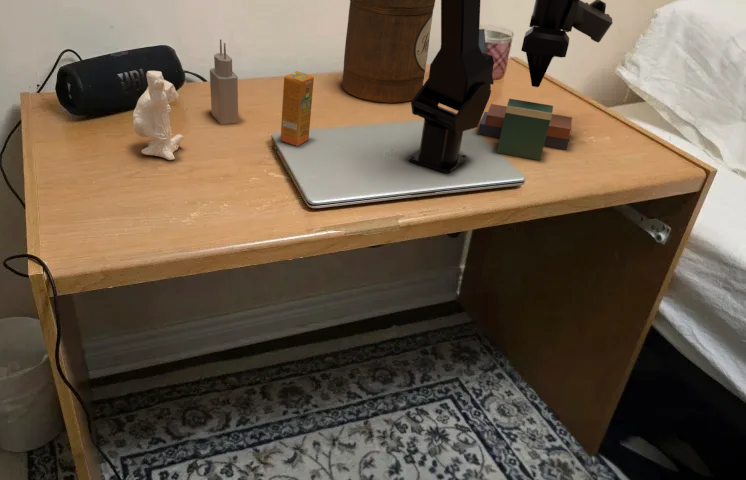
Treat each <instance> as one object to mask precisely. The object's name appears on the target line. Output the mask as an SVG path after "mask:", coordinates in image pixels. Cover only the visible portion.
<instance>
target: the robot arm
mask: <svg viewBox="0 0 746 480" xmlns="http://www.w3.org/2000/svg"><path fill="white" fill-rule="evenodd" d="M606 9H607V3H606V2H605V1H602V0H594V1H592V2H590V3H589V2H587V1H586V2H585V1H582V0H535V1H534V5H533V10H532V14H531V17H530V21H529V28H530V29H528V30H526V31H525V34H524V36H523V39H522V40H523V41H522V45H521V50H520V51H521V52H523V53H525V55H526V61H527V65H528V71H529V77H530V83H531V86H532V87H534V88H539V87H540V86H541V84H542V82H543V79H544V77H545V75H546V73H547V70H548V68H549V67H550V64H551V62H552V61H553V58H555V57H556V58H566V56H567V52H568V49H569V45H570V37H569V35H568V34H567V33H571V32H572V29H573V28H574V29H575V30H577V31H578V32H580V33H582V34H583V35H586V36H587V37H589V38H590V40H591V41H594V42H595V43H600V42H601V41H602V39H603V38H604V36H605V35H606V33H607V32H608V30H609V29H610V28H611V26H612V25H613V18H612V16H610V14H609V13H606ZM480 21H481V0H440V48H439V50H438V52H437V53H436V55H435V56H434V58H433V59H432V61H431V63H430V64H429V72H428V73H429V74H428V78H427V79H426V81H425V82H424V83H423V86H422V88H421V89H420V90H419V92H418V93H417V95H416V96H415V97H414V99H413V100H411V103H410V107H411V113H412V114H411V115H413V116H418V117H420V118H422V119H423V126H422V132H421V139H420V146H419V150H418V151H417V152H415V153H413V154H412V155H411V156H409V162H411V163H415V164H418V165H421V166H424V167H427V168H429V169H434V170H437V171H440V172H443V173H446V174H449V173H452V172H453V171H454V170H455V169H457V168H458V167H459V166H460V165H461V164H462V163H464V162H465V161H466V160H467V155H465V154H462V153H460V150H461V146H462V139H463V134H464V132H465V131H470V130H473V129H475V128H478V127H479V125H480V122H481V120H482V117H483V115H484V112H485V110H486V107H487V105H488V102H489V100H490V96H491V89H492V88H491V85H494V84H495V82H494V79H493V73H494V66H495V60H494V56H493V55H491V54H489V53H486V52H482V50H481V48H480V25H481V24H480ZM439 104H440V105H442V106H445V107H447V108H450V109H452V110H454V111H457V113H456V112H454V111H451V110H449V109H446V108H444V107H442V106H440V105H439Z"/></svg>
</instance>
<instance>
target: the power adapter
mask: <svg viewBox="0 0 746 480" xmlns="http://www.w3.org/2000/svg"><path fill="white" fill-rule="evenodd" d="M222 41H223V40H222V39H221V38H220V39H219V52H217V53H215V54H213V61H214V62H213V63H214V67H212V68H209V86H210V87H209V88H210V108H211V109H210V110H211V115H212V116H213V118H215V120H216V121H217V122H218V124H221V125H228V124H229V125H230V124H236V123H239V82H238V81H239V80H238V79H239V77H238V75H237V74H236V73H235V72H234V71H233V58H232V57H230V56H229V55H228V54H227V48H226V47H227V46H226V42H222ZM222 43H223V44H222Z"/></svg>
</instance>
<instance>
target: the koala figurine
mask: <svg viewBox="0 0 746 480" xmlns="http://www.w3.org/2000/svg"><path fill="white" fill-rule="evenodd" d="M146 81H147V87H146V90H145V91H144V92H143V93H142V94H141V96H140V97H138V100H137V103H136V105H135V108H134V110H133V113H132V127H133V130H134V131H135V133H136V134H137V136H139V137H141V138H149V139H152V140H151V141H149V142H148V144H147V146H146V147H144V148H142V149H141V154H143V155H147V156H155V157H161V158H164V159H166V160H168V161H173V160H175V159H176V158H175V156H174V153H175V151H178V150H179V146H180V144H181V143H182V141H183V140H184V135H182V134H180V133H177V134H176V135H174V136H173V131H172V127H171V120H170V115H171V114H172V108H171V105H170V103H173V102H175V101H178V99H179V97H180V95H179V93H178V92H177V90H176V87H175V85H174V84H173V83H171V82H170V81H168V80H166V79H164V76H163V72H162V71H159V70H148V71H147V72H146Z"/></svg>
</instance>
